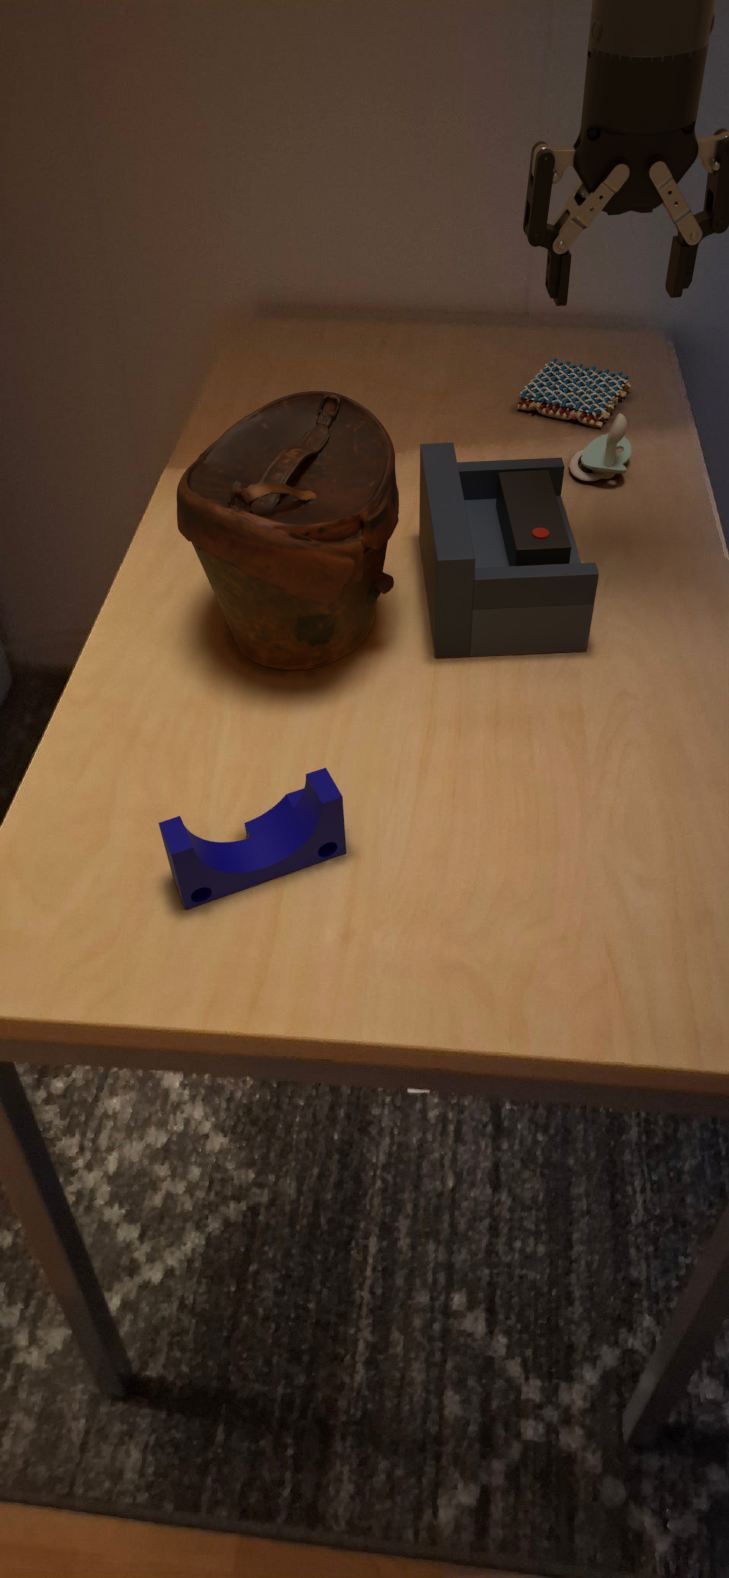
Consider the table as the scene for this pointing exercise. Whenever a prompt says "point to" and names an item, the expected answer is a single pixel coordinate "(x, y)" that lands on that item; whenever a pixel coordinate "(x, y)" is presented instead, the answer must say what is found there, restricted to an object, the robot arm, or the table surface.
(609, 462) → the pacifier
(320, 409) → the case
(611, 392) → the woven mat
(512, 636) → the sofa
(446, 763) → the table surface
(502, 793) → the table surface
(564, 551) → the remote
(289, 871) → the blue bracket
